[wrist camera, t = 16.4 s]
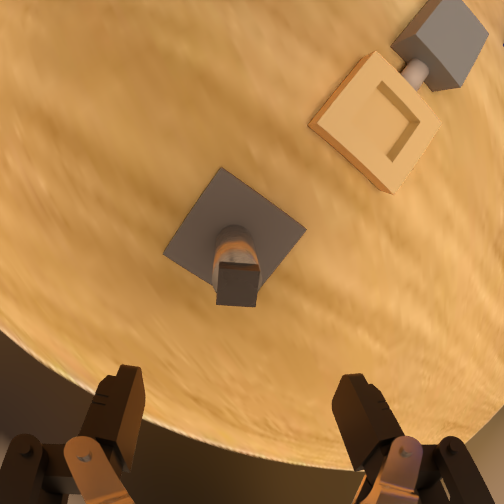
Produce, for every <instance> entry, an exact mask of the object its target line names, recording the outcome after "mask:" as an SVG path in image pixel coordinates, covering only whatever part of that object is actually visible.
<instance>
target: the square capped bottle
mask: <svg viewBox="0 0 504 504" xmlns="http://www.w3.org/2000/svg"><path fill="white" fill-rule="evenodd" d="M261 284H262V275H261V271H260V267H259V263H258V260H257V256H256V252H255V248H254V244H253V241H252V237H251V234H250V233H249V231H248V230H247V229H246V228H244V227H243V226H240V225H228V226H226V227H224V228H223V229H222V230H221V231H220V232H219V233H218V235H217V239H216V247H215V256H214V264H213V274H212V285H213V288H214V290H215V292H216V293H217V299H216V305H227V306H242V307H256V299H257V293H258V291H259V289H260V287H261Z"/></svg>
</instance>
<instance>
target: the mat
mask: <svg viewBox="0 0 504 504" xmlns="http://www.w3.org/2000/svg"><path fill="white" fill-rule="evenodd" d="M228 225H240V226H243V227H244V228H246V229H247V230H248V231H249V233H250V234H251V237H252V241H253V244H254V248H255V252H256V256H257V260H258V263H259V267H260V271H261V275H262V284H261V286H262V285H263V284H264V283H265V281H266V280H267V279H268V278H269V277H270V275H271V274H272V273H273V272H274V270H275V269H276V268H277V267H278V265H279V264H280V263H281V262H282V260H283V259H284V258H285V257H286V255H287V254H288V253H289V252H290V250H291V249H292V248H293V247H294V245H295V244H296V243H297V242H298V240H299V239H300V238H301V236H302V235H303V234H304V233H305V231H306V230H307V229H306V228H304V227H303V226H302V225H300V224H299V223H298V222H297V221H295V220H294V219H293V218H291V217H290V216H289V215H287V214H286V213H284V212H283V211H282V210H280V209H279V208H278V207H276V206H275V205H274V204H272V203H271V202H270V201H268V200H267V199H265V198H264V197H263V196H261V195H260V194H259V193H257V192H256V191H254V190H253V189H252V188H250V187H249V186H247V185H246V184H245V183H243V182H242V181H240V180H239V179H238V178H236V177H235V176H233V175H232V174H230V173H229V172H228V171H226V170H225V169H223V168H222V167H221V168H220V170H219V171H218V172H217V174H216V175H215V177H214V178H213V179H212V181H211V182H210V184H209V185H208V186H207V188H206V189H205V191H204V192H203V194H202V195H201V196H200V198H199V199H198V201H197V202H196V204H195V205H194V207H193V208H192V210H191V211H190V213H189V214H188V216H187V217H186V219H185V220H184V222H183V223H182V225H181V226H180V228H179V229H178V231H177V232H176V234H175V235H174V237H173V238H172V240H171V241H170V243H169V245H168V246H167V248H166V249H165V251H164V253H163V255H165V256H166V257H168V258H169V259H171V260H172V261H174V262H176V263H177V264H179V265H180V266H182V267H183V268H185V269H187V270H188V271H190V272H191V273H193V274H194V275H196V276H198V277H199V278H201V279H202V280H204V281H206V282H207V283H209V284H211V285H212V274H213V264H214V256H215V247H216V239H217V235H218V233H219V232H220V231H221V230H222V229H223V228H224V227H226V226H228ZM212 286H213V285H212ZM260 288H261V287H260Z"/></svg>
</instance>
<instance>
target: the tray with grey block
mask: <svg viewBox="0 0 504 504" xmlns="http://www.w3.org/2000/svg"><path fill="white" fill-rule="evenodd" d="M488 35H489V33H488V32H487V31H486V29H485V28H484V27H483V25H482V24H481V23H480V21H479V20H478V19H477V18H476V16H475V15H474V14H473V13H472V12H471V10H470V9H469V8H468V7H467V6H466V5H465V3H464V2H463V1H462V0H429V1H428V2H427V3H426V4H425V5H424V6H423V8H422V9H421V10H420V11H419V12H418V14H417V15H416V16H415V17H414V18H413V20H412V21H411V22H410V23H409V25H408V26H407V27H406V28H405V29H404V31H403V32H402V33H401V34H400V35H399V37H398V38H397V39H396V40H395V42H394V43H393V44H392V45H391V46H390V47H391V48H392V49H393V50H395V51H396V52H397V53H398V54H399V55H400V56H401V57H402V58H403V59H404V60H405V61H406V63H407V66H406V67H405V68H404V70H403V71H402V72H401V74H400V73H399V72H398V71H397V70H396V69H395V68H394V67H393V66H392V65H391V64H390V63H389V62H388V61H387V60H385V59H384V58H383V57H382V56H381V55H380V54H379V53H378V52H377V51H376V50H375V51H374V52H372V53H370V54H368V55H367V56H365V57H363V58H362V59H361V60H360V61H359V63H358V64H357V65H356V66H355V67H354V69H353V70H352V71H351V72H350V73H349V75H348V76H347V77H346V78H345V80H344V81H343V82H342V83H341V84H340V86H339V87H338V88H337V89H336V91H335V92H334V93H333V94H332V96H331V97H330V98H329V99H328V100H327V102H326V103H325V104H324V105H323V107H322V108H321V109H320V110H319V112H318V113H317V114H316V115H315V117H314V118H313V119H312V120H311V122H310V123H309V124H308V126H309V127H310V128H311V129H312V130H314V131H315V132H316V133H317V134H318V135H320V136H321V137H322V138H323V139H324V140H326V141H327V142H328V143H329V144H330V145H331V146H333V147H334V148H335V149H336V150H337V151H338V152H339V153H341V154H342V155H343V156H344V157H345V158H346V159H347V160H348V161H349V162H351V163H352V164H353V165H354V166H355V167H356V168H357V169H358V170H359V171H360V172H361V173H362V174H363V175H365V176H366V177H367V178H368V179H369V180H370V181H371V182H372V183H373V184H374V185H375V186H376V187H377V188H378V189H379V190H380V191H383V192H386V193H389V194H392V195H395V193H396V192H397V191H398V189H399V188H400V186H401V185H402V184H403V182H404V181H405V179H406V178H407V176H408V175H409V174H410V172H411V171H412V169H413V168H414V166H415V165H416V163H417V162H418V160H419V159H420V157H421V156H422V154H423V153H424V151H425V150H426V148H427V147H428V145H429V144H430V142H431V141H432V139H433V138H434V136H435V134H436V133H437V131H438V130H439V128H440V126H441V125H442V122H441V120H440V119H439V118H438V117H437V115H436V114H435V113H434V112H433V110H432V109H431V108H430V107H429V106H428V104H427V103H426V102H425V101H424V100H423V98H422V97H421V96H420V95H419V94H418V93H417V90H418V89H419V87H420V86H421V85H422V83H423V82H425V83H426V84H427V86H428V87H429V88H430V89H431V90H432V91H433V92H434V91H440V90H446V89H453V88H460V87H461V86H462V84H463V83H464V81H465V79H466V77H467V75H468V74H469V72H470V70H471V68H472V66H473V64H474V63H475V61H476V59H477V57H478V55H479V53H480V51H481V49H482V47H483V45H484V43H485V41H486V39H487V37H488Z"/></svg>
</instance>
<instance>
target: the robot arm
mask: <svg viewBox="0 0 504 504" xmlns="http://www.w3.org/2000/svg"><path fill="white" fill-rule="evenodd" d="M385 401H386V400H385V398H384V397H383V395H382V393H381V391H380V390H378V389H377V388H376V387H375V386H374V385H373V384H368V383H367V381H366V379H365V377H364V376H363V374H361V373H358V374H346V375H343V376H342V378H341V380H340V383H339V385H338V388H337V390H336V392H335V395H334V397H333V400H332V411H333V414H334V417H335V420H336V422H337V425H338V428H339V430H340V433H341V436H342V438H343V441H344V444H345V447H346V449H347V452H348V455H349V457H350V460H351V463H352V466H353V468H354V471H355V472H356V471H360V470H365V472H366V475H365V476H364V478H363V480H362V482H361V484H360V487H359V489H358V491H357V493H356V496H355V498H354V500H353V502H352V504H495V503H494V500H493V498H492V496H491V494H490V492H489V490H488V488H487V486H486V484H485V482H484V480H483V478H482V476H481V474H480V472H479V471H478V468H477V466H476V465H475V463H474V461H473V459H472V457H471V455H470V453H469V452H468V450H467V448H466V446H465V445H464V443H463V442H462V441H461V440H460V439H459V438H457V437H454V436H448V437H445V438H444V439H442V440H441V442H440V443H439V444H438V445H421V444H420V443H419V441H418V440H416V439H415V438H413V437H410V436H405V435H404V433H403V431H402V429H401V427H400V426H399V424H398V422H397V420H396V418H395V416H394V415H393V413H392V411H391V409H389V408H390V407H389V405H388V404H387V402H385ZM144 407H145V389H144V384H143V378H142V371H141V368H140V367H136V366H129V365H123V364H122V365H121V366H120V368H119V370H118V373H117V375H116V376H111V375H108V376H106V377H105V378H104V379H103V380H102V381H101V382H100V383H99V385H98V388H97V390H96V393H95V395H94V397H93V400H92V403H91V405H90V407H89V410H88V412H87V415H86V417H85V420H84V423H83V425H82V428H81V431H80V433H79V435H78V436H77V437H74V438H72V439H70V440H69V441H68V442H67V443H66V444H41V443H40V441H39V440H38V439H37V438H36V437H34V436H33V435H30V434H20V435H17V436H16V437H14V438H13V439H12V441H11V443H10V445H9V447H8V450H7V453H6V455H5V458H4V460H3V463H2V466H1V469H0V504H67V502H68V496H69V494H81V495H82V497H83V499H84V501H85V503H86V504H135V503H134V502H133V500H132V499H131V497H130V496H129V494H128V493H127V491H126V490H125V488H124V486H123V485H122V483H121V482H120V479H121V474H122V471H124V472H129V473H130V472H131V467H132V462H133V457H134V452H135V447H136V443H137V438H138V433H139V429H140V424H141V419H142V416H143V411H144ZM442 478H443V480H444V483H445V485H446V487H447V489H448V492H449V494H450V501H449V500H448V497H447V495H446V492H445V490H444V488H443V486H442V483H441V481H440V480H441V479H442Z"/></svg>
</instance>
